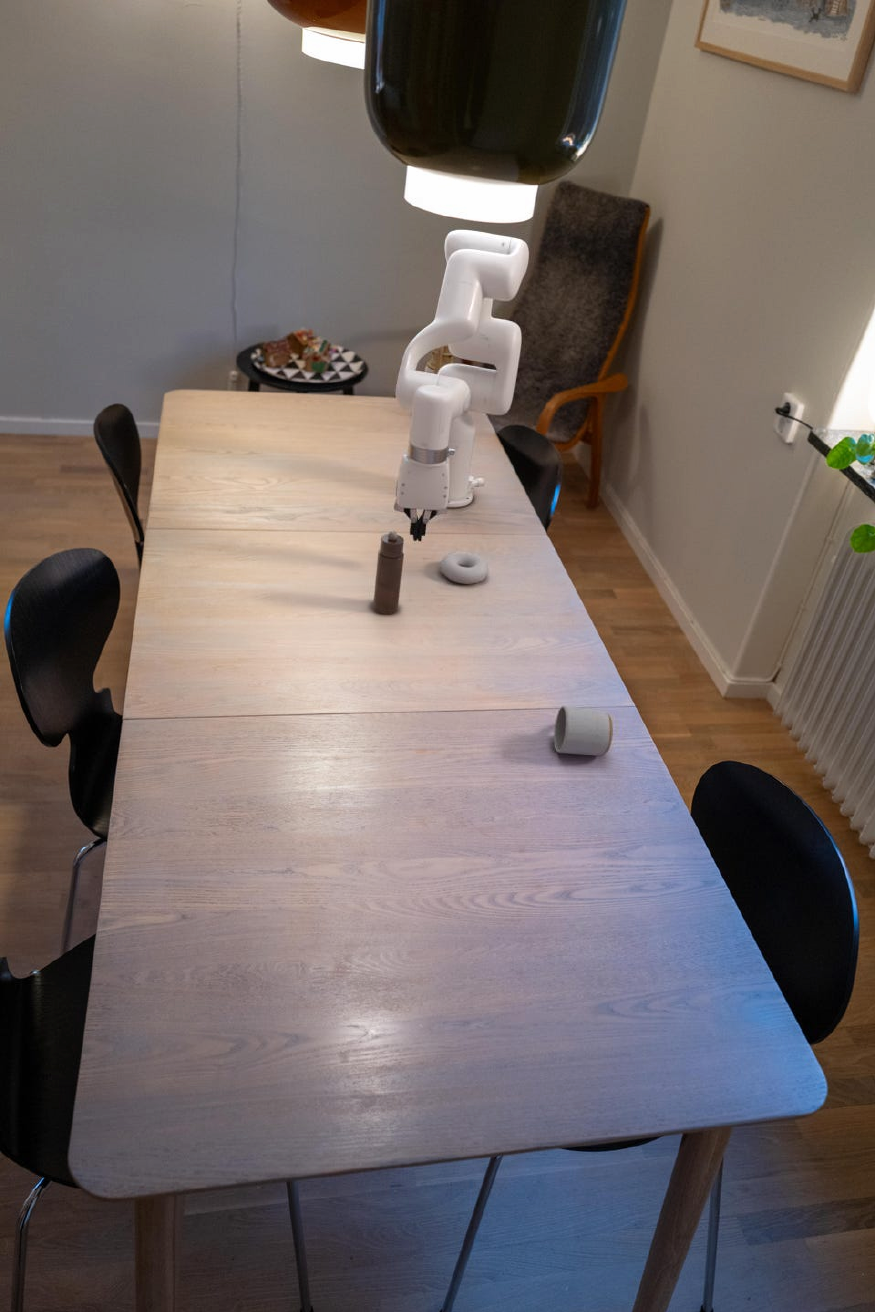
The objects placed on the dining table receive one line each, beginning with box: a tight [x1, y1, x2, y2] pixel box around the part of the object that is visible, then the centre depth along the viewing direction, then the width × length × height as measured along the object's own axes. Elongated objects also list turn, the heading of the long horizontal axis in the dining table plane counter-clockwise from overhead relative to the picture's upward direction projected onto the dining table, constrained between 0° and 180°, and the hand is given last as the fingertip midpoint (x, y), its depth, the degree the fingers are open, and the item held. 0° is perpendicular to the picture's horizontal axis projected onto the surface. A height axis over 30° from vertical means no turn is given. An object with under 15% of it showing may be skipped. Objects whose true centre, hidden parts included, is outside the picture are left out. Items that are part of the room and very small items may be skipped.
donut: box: [440, 551, 489, 585], centre depth 206 cm, size 10×4×10 cm
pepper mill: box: [372, 530, 405, 615], centre depth 188 cm, size 5×5×16 cm
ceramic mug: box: [553, 705, 614, 757], centre depth 162 cm, size 11×8×8 cm
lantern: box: [424, 345, 455, 374], centre depth 275 cm, size 15×10×30 cm
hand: (416, 538), depth 201 cm, fingers closed
